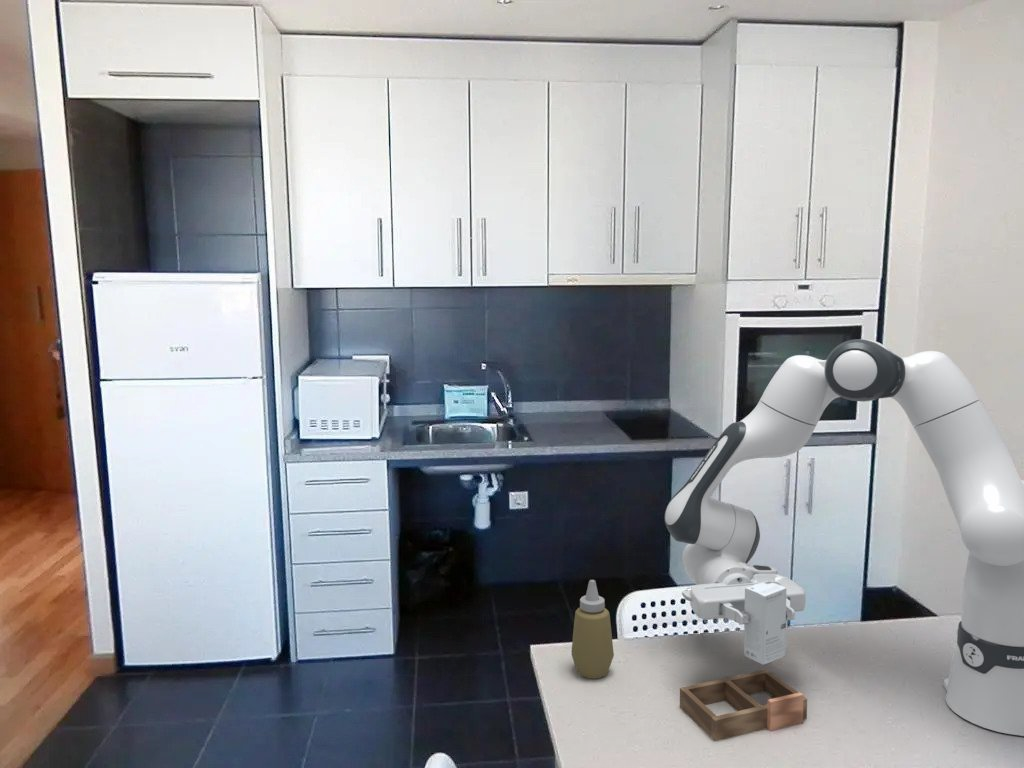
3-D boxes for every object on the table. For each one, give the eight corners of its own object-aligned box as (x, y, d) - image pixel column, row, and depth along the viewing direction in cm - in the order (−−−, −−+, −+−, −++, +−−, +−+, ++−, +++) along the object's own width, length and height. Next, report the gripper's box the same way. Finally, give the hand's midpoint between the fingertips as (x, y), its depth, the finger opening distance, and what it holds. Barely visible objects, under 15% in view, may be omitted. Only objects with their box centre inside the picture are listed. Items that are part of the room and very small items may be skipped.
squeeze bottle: (568, 680, 137) (567, 587, 135) (574, 659, 144) (574, 571, 142) (611, 684, 135) (611, 591, 133) (616, 663, 143) (616, 574, 140)
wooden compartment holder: (766, 687, 133) (766, 661, 132) (810, 721, 122) (811, 692, 122) (679, 706, 127) (679, 679, 127) (717, 743, 117) (718, 714, 116)
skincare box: (763, 666, 122) (765, 596, 120) (741, 655, 126) (743, 587, 124) (787, 655, 125) (789, 587, 124) (765, 645, 129) (766, 579, 127)
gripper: (678, 574, 135) (709, 605, 122) (781, 565, 138) (823, 595, 125) (678, 606, 136) (709, 641, 122) (780, 597, 139) (822, 630, 126)
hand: (767, 618), depth 124 cm, fingers closed on skincare box, 7 cm apart
